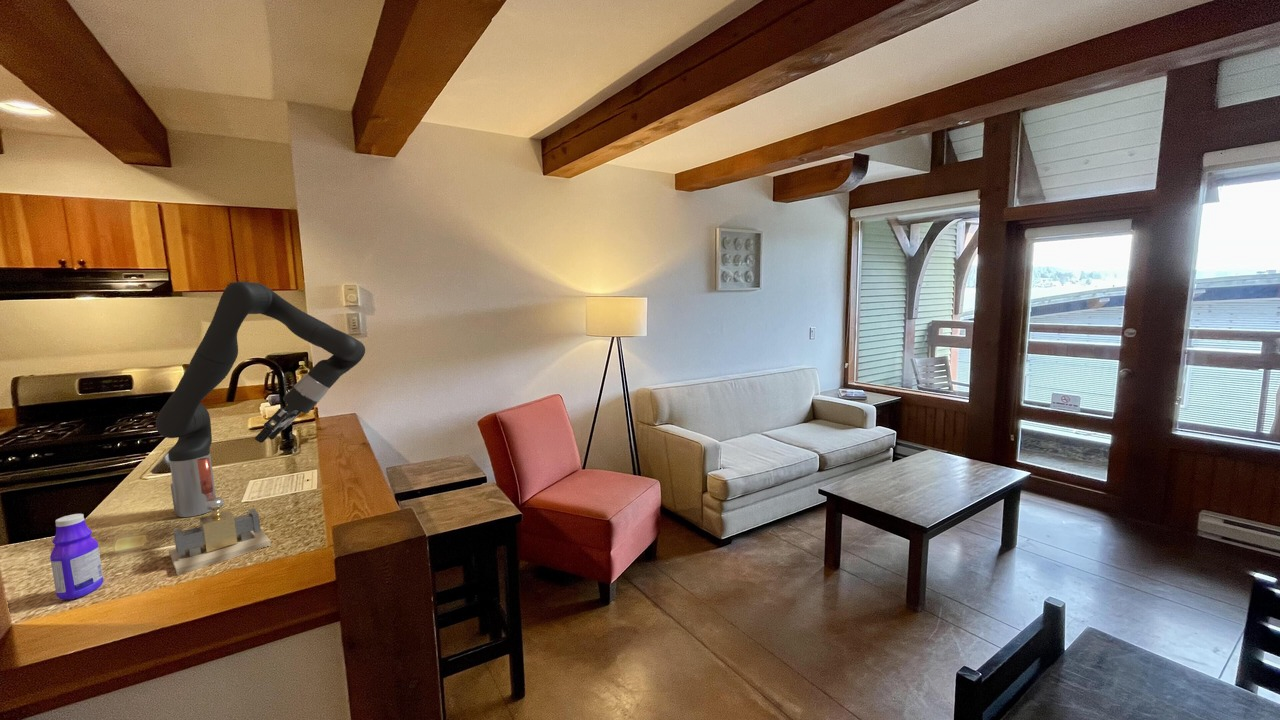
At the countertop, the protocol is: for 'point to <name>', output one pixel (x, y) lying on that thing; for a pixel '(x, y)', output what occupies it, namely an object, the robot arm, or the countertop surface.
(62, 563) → the bottle
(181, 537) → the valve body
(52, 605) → the countertop surface
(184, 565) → the valve board
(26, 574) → the countertop surface
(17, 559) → the countertop surface
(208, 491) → the valve lever
